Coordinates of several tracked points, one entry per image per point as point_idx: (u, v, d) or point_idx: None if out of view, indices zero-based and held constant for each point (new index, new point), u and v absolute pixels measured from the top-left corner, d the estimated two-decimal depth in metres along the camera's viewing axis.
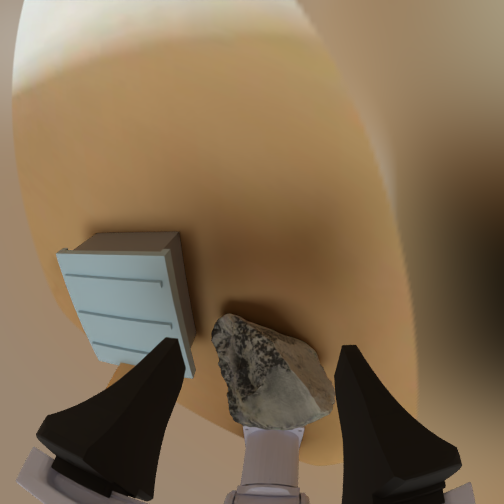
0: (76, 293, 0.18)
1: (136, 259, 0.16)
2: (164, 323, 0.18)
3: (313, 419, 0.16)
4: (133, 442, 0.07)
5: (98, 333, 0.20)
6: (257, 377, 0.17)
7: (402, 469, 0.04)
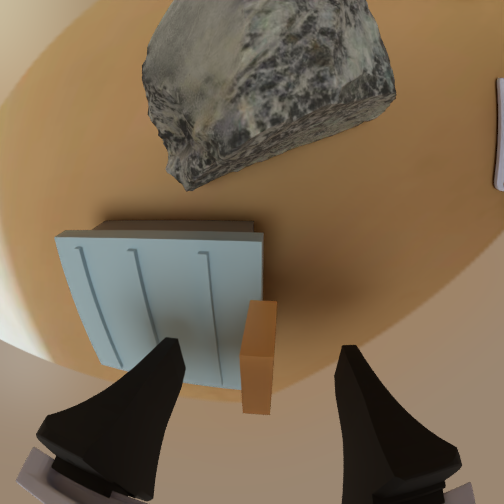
0: None
1: (66, 270, 0.13)
2: None
3: None
4: (133, 442, 0.07)
5: (194, 367, 0.15)
6: (169, 101, 0.08)
7: (402, 469, 0.04)
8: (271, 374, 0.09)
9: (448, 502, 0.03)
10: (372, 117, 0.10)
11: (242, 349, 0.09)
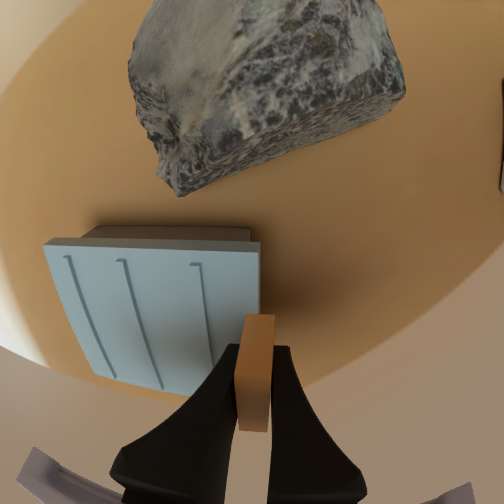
0: (132, 376, 0.15)
1: (56, 279, 0.12)
2: None
3: None
4: (217, 460, 0.07)
5: (189, 380, 0.14)
6: (156, 100, 0.07)
7: (281, 482, 0.04)
8: (268, 394, 0.09)
9: (448, 502, 0.03)
10: (377, 117, 0.10)
11: (237, 369, 0.09)
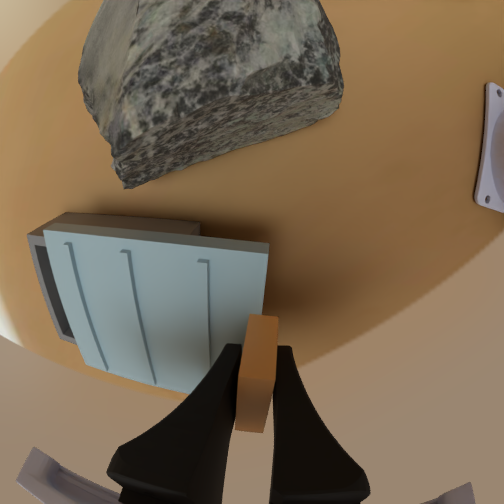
0: (124, 369, 0.14)
1: (54, 266, 0.12)
2: (122, 261, 0.11)
3: None
4: (214, 460, 0.07)
5: (183, 376, 0.14)
6: None
7: (284, 482, 0.04)
8: (270, 396, 0.09)
9: (448, 502, 0.03)
10: (324, 115, 0.10)
11: (241, 369, 0.09)
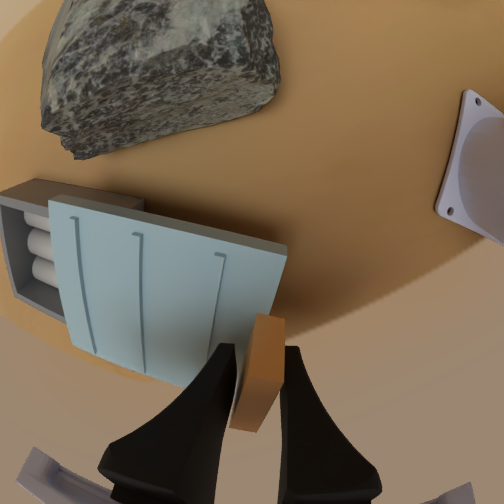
0: (114, 354, 0.14)
1: (54, 239, 0.11)
2: None
3: None
4: (205, 459, 0.07)
5: (176, 368, 0.13)
6: None
7: (299, 482, 0.04)
8: (274, 397, 0.09)
9: (448, 502, 0.03)
10: (260, 102, 0.10)
11: (251, 369, 0.08)
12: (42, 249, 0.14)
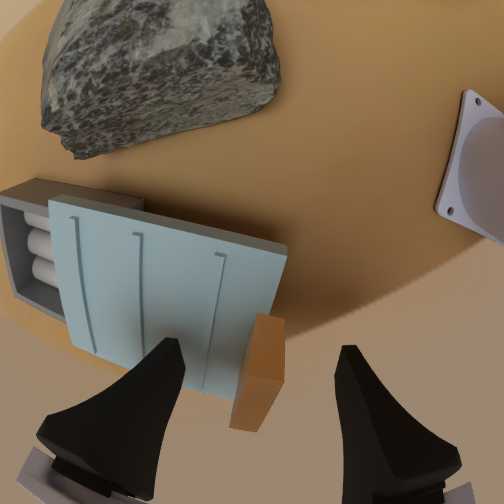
0: (114, 354, 0.14)
1: (54, 239, 0.11)
2: None
3: None
4: (133, 442, 0.07)
5: None
6: None
7: (402, 469, 0.04)
8: (274, 397, 0.09)
9: (448, 502, 0.03)
10: (260, 102, 0.10)
11: (251, 369, 0.08)
12: (42, 249, 0.14)
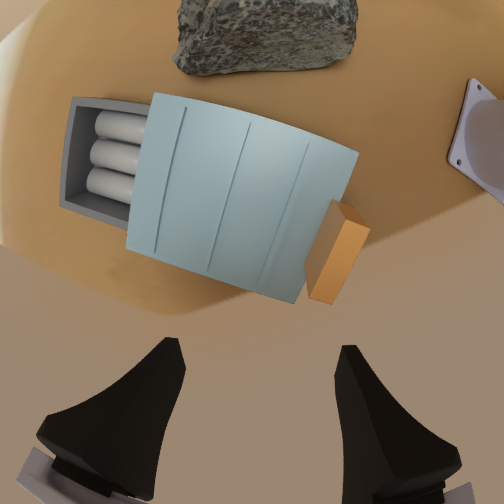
0: (176, 252, 0.16)
1: (149, 128, 0.13)
2: (239, 130, 0.13)
3: None
4: (133, 442, 0.07)
5: (242, 262, 0.16)
6: None
7: (402, 469, 0.04)
8: (360, 248, 0.11)
9: (448, 502, 0.03)
10: (338, 57, 0.12)
11: (346, 217, 0.11)
12: (109, 155, 0.16)
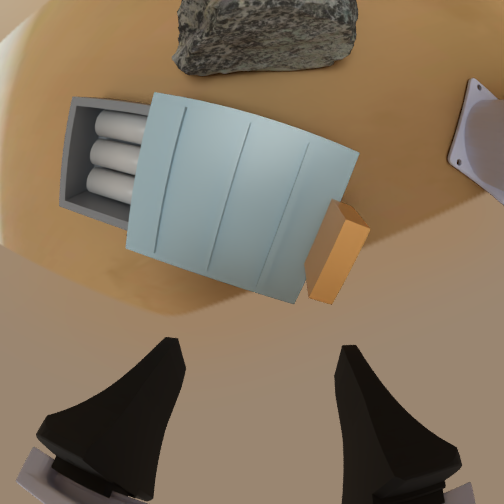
0: (176, 252, 0.16)
1: (149, 128, 0.13)
2: (239, 130, 0.13)
3: None
4: (133, 442, 0.07)
5: (242, 262, 0.16)
6: None
7: (402, 469, 0.04)
8: (360, 248, 0.11)
9: (448, 502, 0.03)
10: (338, 57, 0.12)
11: (346, 217, 0.11)
12: (109, 155, 0.16)
